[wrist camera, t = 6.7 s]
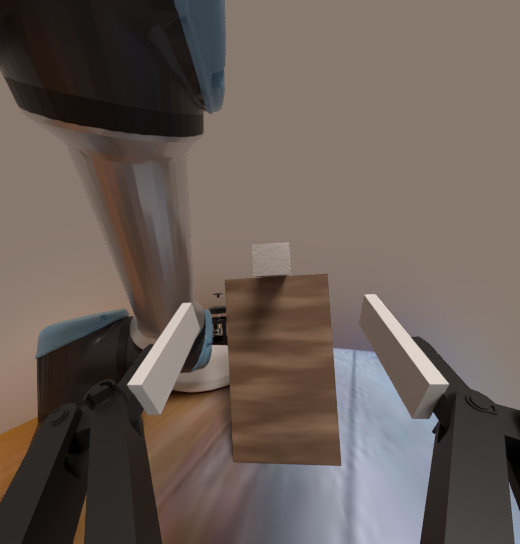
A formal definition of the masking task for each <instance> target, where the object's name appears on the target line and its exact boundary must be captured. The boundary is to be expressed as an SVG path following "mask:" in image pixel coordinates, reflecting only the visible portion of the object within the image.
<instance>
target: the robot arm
mask: <svg viewBox="0 0 520 544" xmlns="http://www.w3.org/2000/svg"><path fill="white" fill-rule="evenodd" d="M225 29H226V28H225V0H0V70H1V72H2V74H3V76H4V78H5V80H6V82H7V84H8V86H9V88H10V90H11V92H12V94H13V96H14V99H15V100H16V103H17V104H18V107H19V108H20V110H21V112H22V113H23V114H24V115H25V116H27V117H28V118H30V119H31V120H33V121H34V122H36V123H37V124H39V125H40V126H42V127H43V128H44V129H46V130H47V131H49V132H50V133H52V134H53V135H55V136H56V137H58V138H59V139H60V140H61V141H62V142H63V143H64V144H65V145H66V146H67V148H68V151H69V153H70V156H71V158H72V160H73V163H74V165H75V168H76V170H77V173H78V175H79V178H80V180H81V183H82V185H83V188H84V190H85V193H86V195H87V198H88V200H89V203H90V205H91V207H92V210H93V212H94V215H95V217H96V220H97V222H98V225H99V227H100V230H101V232H102V235H103V237H104V240H105V242H106V245H107V247H108V250H109V252H110V255H111V257H112V259H113V262H114V264H115V267H116V269H117V272H118V274H119V277H120V279H121V281H122V284H123V287H124V289H125V291H126V294H127V297H128V299H129V301H130V304H131V306H132V309H133V311H134V314H135V315H134V316H130V317H129V316H128V315H129V313H128V312H127V310H126V309H121V310H113V311H108V312H103V313H98V314H93V315H88V316H84V317H79V318H75V319H71V320H66V321H63V322H59V323H55V324H52V325H50V326H48V327H46V328H45V329H43V330H42V331H41V333H40V334H39V337H38V346H37V354H36V356H35V358H36V359H37V392H38V393H37V396H38V425H37V428H36V431H35V433H34V436H33V438H32V441H31V443H30V446H29V448H28V451H27V453H26V455H25V457H24V459H23V461H22V463H21V465H20V467H19V469H18V471H17V473H16V474H15V476H14V478H13V480H12V482H11V484H10V486H9V488H8V490H7V492H6V493H5V495H4V497H3V499H2V501H1V503H0V544H73V540H74V537H75V533H76V529H77V525H78V522H79V518H80V514H81V510H82V507H83V503H84V499H85V495H86V492H87V500H86V518H85V536H84V544H162V540H161V533H160V527H159V521H158V515H157V509H156V503H155V497H154V491H153V485H152V479H151V473H150V467H149V461H148V454H147V448H146V442H145V436H144V430H143V424H142V419H141V416H140V415H141V413H142V411H143V409H144V410H145V412H146V413H147V415H161V413H162V411H163V408H164V406H165V404H166V402H167V400H168V397H169V395H170V393H171V391H172V389H173V387H174V384H175V382H176V380H177V378H178V376H179V374H181V373H191V372H193V371H195V370H199V369H203V368H205V367H206V366H207V365H208V363H209V361H210V358H211V353H212V340H213V327H212V317H211V313H210V312H209V311H208V310H206V309H202V307H201V305H200V304H199V303H198V302H197V301H196V300H195V296H194V279H193V262H192V245H191V227H190V210H189V192H188V174H187V155H188V153H189V151H190V150H191V149H192V148H193V147H194V146H195V145H196V144H197V143H198V142H199V141H200V140H201V139H202V138H203V133H204V132H203V113H204V111H207V112H208V113H210V114H212V113H213V112H217V111H219V110H220V109H221V107H222V105H223V99H224V91H225V88H224V67H225V55H226V33H225V32H226V31H225ZM359 324H360V326H361V328H362V330H363V331H364V333H365V335H366V337H367V339H368V340H369V342H370V344H371V346H372V347H373V349H374V351H375V353H376V355H377V356H378V358H379V360H380V362H381V364H382V365H383V367H384V369H385V371H386V372H387V374H388V376H389V378H390V380H391V381H392V383H393V385H394V387H395V389H396V390H397V392H398V394H399V396H400V397H401V399H402V401H403V403H404V405H405V406H406V408H407V410H408V412H409V413H410V415H411V417H412V419H429V418H430V417H431V415H432V413H433V412H434V414H435V415H436V417H437V418H438V420H439V421H438V423H437V424H436V426H435V428H434V429H433V431H432V433H434V434H435V433H436V435H435V442H434V449H433V456H432V463H431V470H430V477H429V484H428V491H427V498H426V505H425V512H424V519H423V526H422V533H421V540H420V544H515V542H514V532H513V521H512V511H511V501H510V490H509V483H510V486H511V489H512V491H513V494H514V497H515V499H516V502H517V505H518V508H519V510H520V410H516V409H513V408H509V407H505V406H502V405H498V404H495V403H494V402H493V401H492V400H490V399H489V398H488V397H487V396H485V395H483V394H481V393H479V392H478V391H474V390H472V389H470V388H469V387H468V386H467V385H466V384H465V383H464V382H463V381H462V379H461V378H460V377H459V376H458V375H457V374H456V373H455V372H454V371H453V369H452V368H451V367H450V366H449V365H448V364H447V363H446V362H445V361H444V360H443V358H442V357H441V356H440V355H439V354H438V353H437V352H436V351H435V349H434V348H433V347H432V346H431V345H430V344H429V343H427V342H426V341H425V340H423V339H422V338H420V337H410V336H409V335H408V334H407V332H406V331H405V330H404V329H403V328H402V326H401V325H400V324H399V323H398V321H397V320H396V319H395V318H394V317H393V315H392V314H391V313H390V311H389V310H388V309H387V308H386V307H385V305H384V304H383V303H382V302H381V301H380V299H379V298H378V297H377V296H376V294H370V295H364V299H363V304H362V309H361V315H360V320H359Z"/></svg>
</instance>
